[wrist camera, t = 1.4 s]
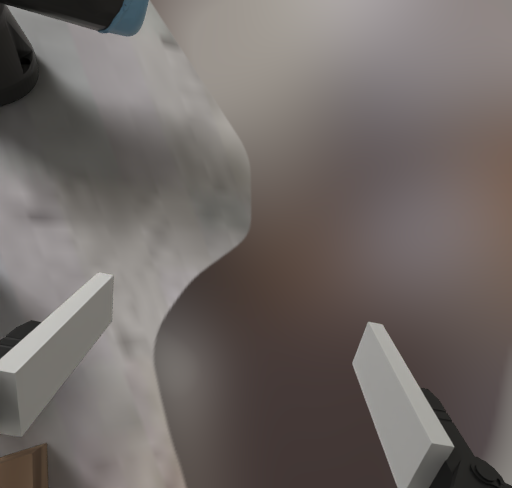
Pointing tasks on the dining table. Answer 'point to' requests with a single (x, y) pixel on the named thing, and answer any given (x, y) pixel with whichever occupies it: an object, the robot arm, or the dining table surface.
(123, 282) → the dining table surface
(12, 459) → the socket block
